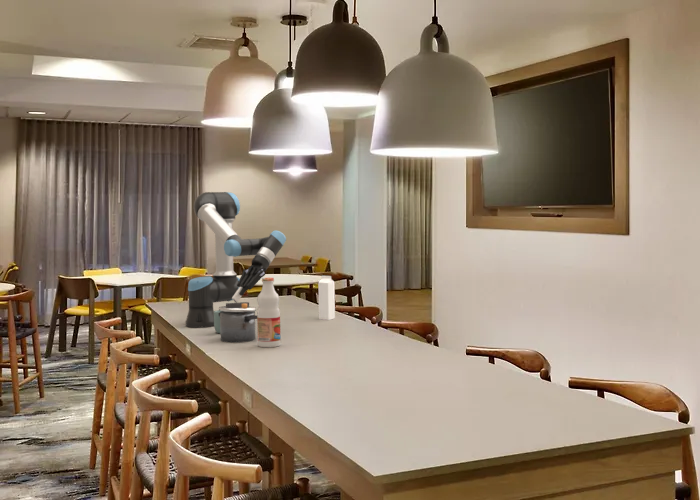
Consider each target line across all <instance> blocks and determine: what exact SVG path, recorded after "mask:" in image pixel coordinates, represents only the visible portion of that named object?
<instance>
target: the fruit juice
mask: <svg viewBox="0 0 700 500" xmlns="http://www.w3.org/2000/svg"><path fill="white" fill-rule="evenodd" d="M261 282H262V288H261V290H260V293H258V295H257V300H256V301H257V305H258V306H257V307H258V308H257V310H256V312H257V313H256V315H257V319H256V321H257V327H256V328H257V346H258V347H260V348H275V347H279V346H281V343H282V341H281V340H282V339H281V309H280V308H279V304H280V295H279V294H278V293H277V291H276V290H275V286H274V282H275V279H274V277H262V278H261Z"/></svg>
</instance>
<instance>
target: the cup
mask: <svg viewBox="0 0 700 500" xmlns="http://www.w3.org/2000/svg"><path fill="white" fill-rule="evenodd" d="M220 312H221V311H219V309H218V310H214V326H213V327H214V331H215V333H216V334H220V316H219V313H220Z"/></svg>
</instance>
